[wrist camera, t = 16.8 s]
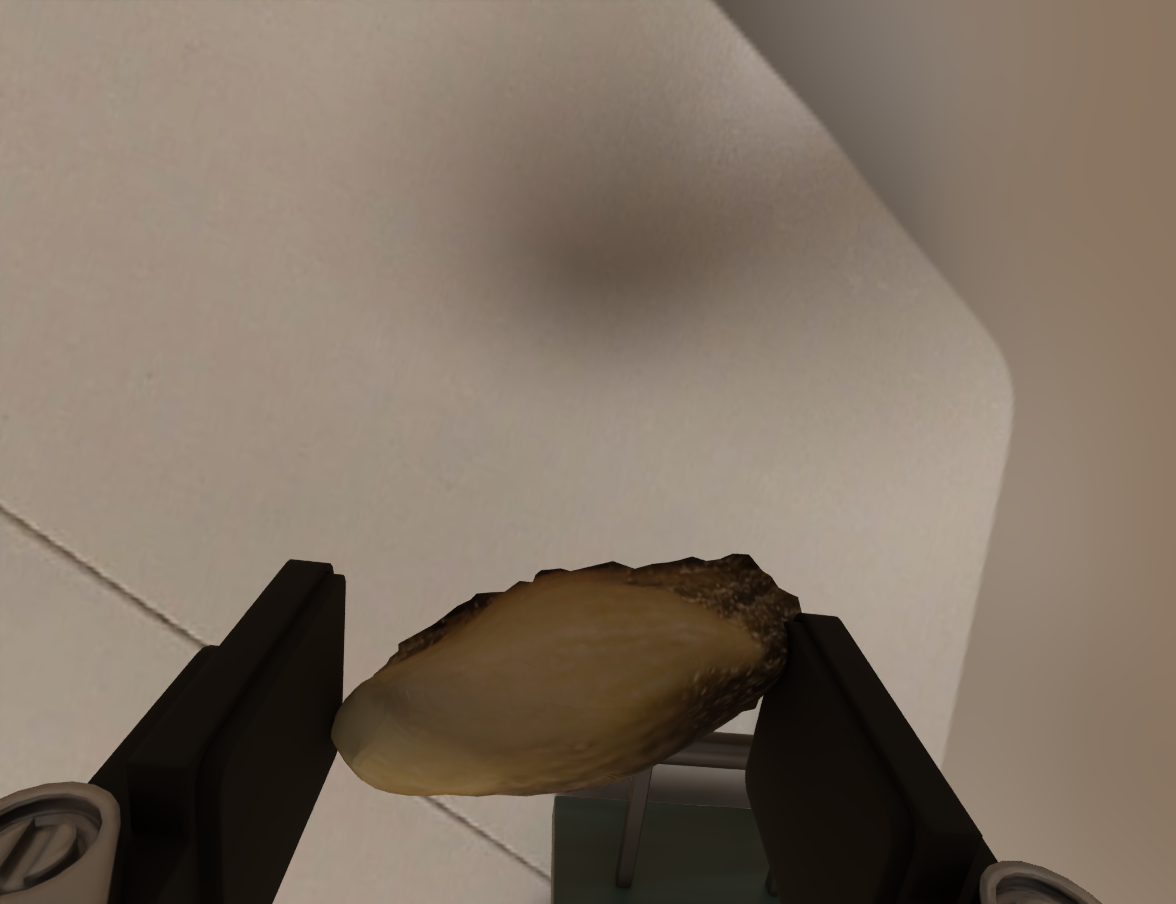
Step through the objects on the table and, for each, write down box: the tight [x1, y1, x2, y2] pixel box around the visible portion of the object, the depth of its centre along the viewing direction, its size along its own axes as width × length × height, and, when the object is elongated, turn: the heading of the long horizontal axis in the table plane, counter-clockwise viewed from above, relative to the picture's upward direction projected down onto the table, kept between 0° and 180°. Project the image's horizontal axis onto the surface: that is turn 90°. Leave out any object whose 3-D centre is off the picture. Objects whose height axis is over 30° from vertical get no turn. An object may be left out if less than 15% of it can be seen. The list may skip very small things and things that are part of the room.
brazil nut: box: [331, 554, 802, 797], centre depth 10 cm, size 6×5×3 cm
